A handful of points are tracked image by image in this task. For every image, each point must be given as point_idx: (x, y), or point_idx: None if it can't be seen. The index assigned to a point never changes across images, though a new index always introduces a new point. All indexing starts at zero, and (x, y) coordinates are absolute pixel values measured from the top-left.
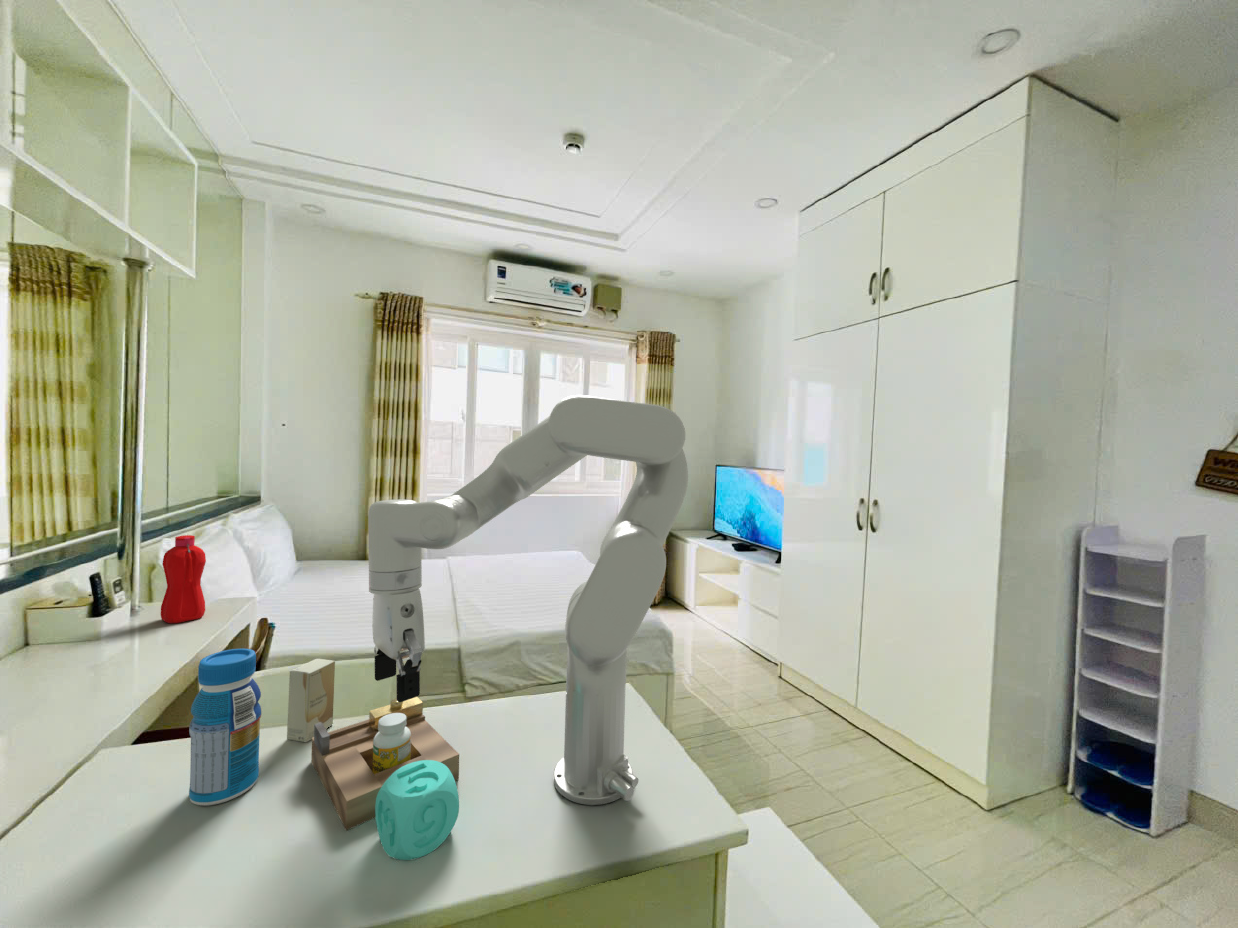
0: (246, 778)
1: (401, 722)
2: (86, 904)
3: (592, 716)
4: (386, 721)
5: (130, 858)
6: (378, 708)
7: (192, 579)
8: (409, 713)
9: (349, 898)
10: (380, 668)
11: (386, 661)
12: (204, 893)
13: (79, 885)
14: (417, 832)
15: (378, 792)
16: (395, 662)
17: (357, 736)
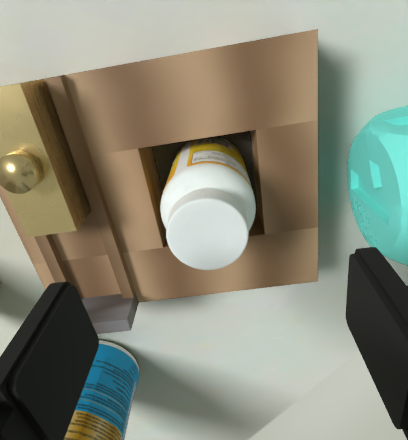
0: (121, 366)
1: (242, 218)
2: (246, 428)
3: None
4: (211, 252)
5: (196, 415)
6: (20, 215)
7: None
8: (49, 127)
9: None
10: (77, 378)
11: (55, 385)
12: (302, 368)
13: (213, 435)
14: None
15: (405, 264)
16: (45, 333)
17: (87, 243)
